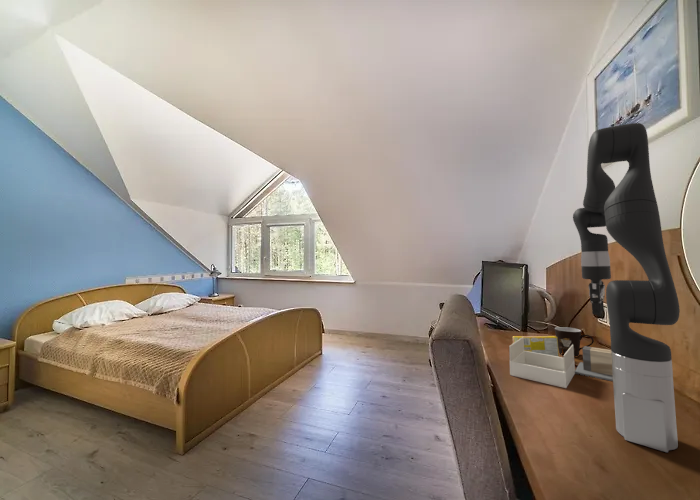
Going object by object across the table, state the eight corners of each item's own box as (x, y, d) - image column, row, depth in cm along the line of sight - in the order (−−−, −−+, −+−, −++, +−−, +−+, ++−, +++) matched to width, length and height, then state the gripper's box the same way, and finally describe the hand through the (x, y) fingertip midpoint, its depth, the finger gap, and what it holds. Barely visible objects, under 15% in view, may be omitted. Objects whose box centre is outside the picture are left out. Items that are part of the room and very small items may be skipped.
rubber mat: (628, 384, 87) (628, 382, 88) (574, 373, 97) (574, 371, 97) (629, 372, 97) (629, 370, 97) (580, 363, 106) (580, 362, 106)
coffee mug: (550, 352, 119) (549, 328, 120) (565, 350, 122) (564, 326, 122) (580, 361, 108) (579, 334, 109) (596, 358, 111) (595, 332, 111)
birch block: (619, 376, 92) (618, 354, 92) (583, 369, 98) (582, 349, 99) (620, 372, 95) (619, 351, 95) (585, 366, 101) (584, 346, 102)
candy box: (556, 357, 114) (555, 335, 114) (559, 358, 112) (558, 337, 112) (513, 356, 116) (512, 335, 116) (515, 358, 113) (514, 337, 114)
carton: (566, 388, 86) (564, 355, 86) (510, 375, 97) (508, 346, 97) (575, 373, 97) (573, 344, 98) (524, 362, 108) (522, 337, 108)
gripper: (608, 265, 91) (611, 317, 90) (611, 264, 101) (614, 311, 100) (578, 265, 96) (581, 314, 95) (584, 264, 106) (586, 309, 105)
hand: (598, 313), depth 98 cm, fingers open, 8 cm apart
